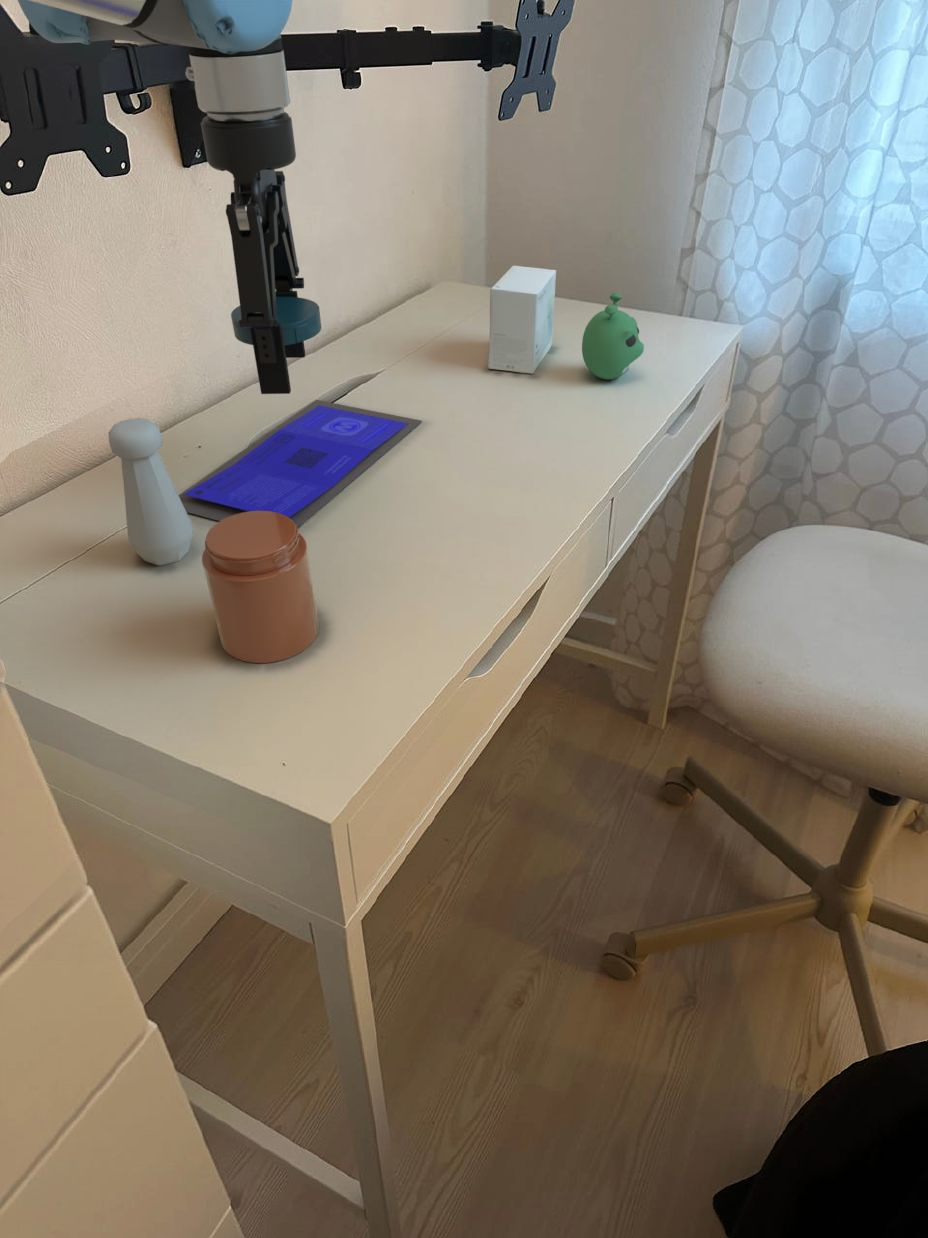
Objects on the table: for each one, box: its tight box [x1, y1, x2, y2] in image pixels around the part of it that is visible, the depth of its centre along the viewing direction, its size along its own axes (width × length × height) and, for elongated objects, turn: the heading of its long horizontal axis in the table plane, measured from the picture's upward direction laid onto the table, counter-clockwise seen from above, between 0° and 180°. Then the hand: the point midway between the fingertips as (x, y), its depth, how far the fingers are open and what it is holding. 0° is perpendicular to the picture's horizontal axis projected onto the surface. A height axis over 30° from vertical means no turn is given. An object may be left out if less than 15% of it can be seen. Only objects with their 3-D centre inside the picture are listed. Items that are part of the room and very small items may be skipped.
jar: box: [201, 511, 320, 664], centre depth 71 cm, size 8×8×10 cm
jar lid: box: [230, 297, 322, 346], centre depth 85 cm, size 8×8×2 cm
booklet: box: [183, 407, 404, 518], centre depth 97 cm, size 12×25×1 cm, turn 154°
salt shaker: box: [107, 417, 194, 567], centre depth 80 cm, size 6×6×13 cm
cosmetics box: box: [487, 265, 557, 375], centre depth 117 cm, size 10×6×10 cm, turn 162°
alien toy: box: [581, 292, 645, 380], centre depth 111 cm, size 7×8×10 cm
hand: (284, 373), depth 88 cm, fingers closed on jar lid, 8 cm apart
